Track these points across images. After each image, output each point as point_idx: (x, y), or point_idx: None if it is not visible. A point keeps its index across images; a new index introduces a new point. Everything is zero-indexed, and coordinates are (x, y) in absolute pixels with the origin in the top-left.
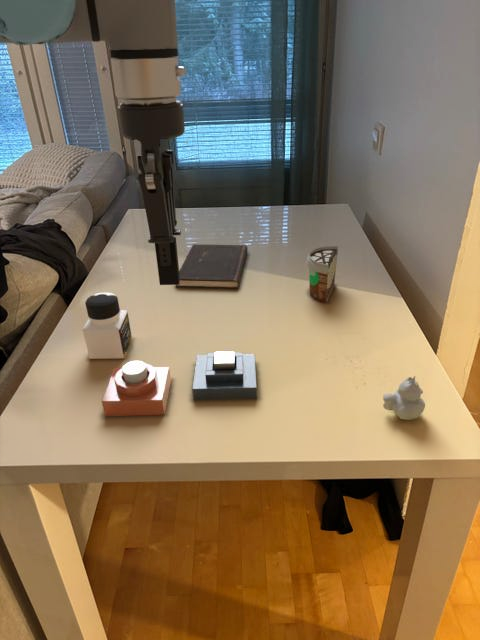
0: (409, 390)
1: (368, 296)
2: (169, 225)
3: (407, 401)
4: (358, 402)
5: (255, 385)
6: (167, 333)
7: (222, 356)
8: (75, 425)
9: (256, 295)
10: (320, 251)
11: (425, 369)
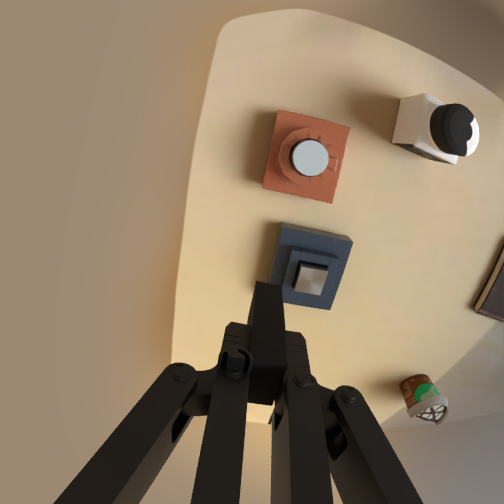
0: None
1: (386, 414)
2: (176, 443)
3: None
4: None
5: None
6: (428, 208)
7: (313, 279)
8: (268, 79)
9: (450, 325)
10: (444, 411)
11: (265, 418)
